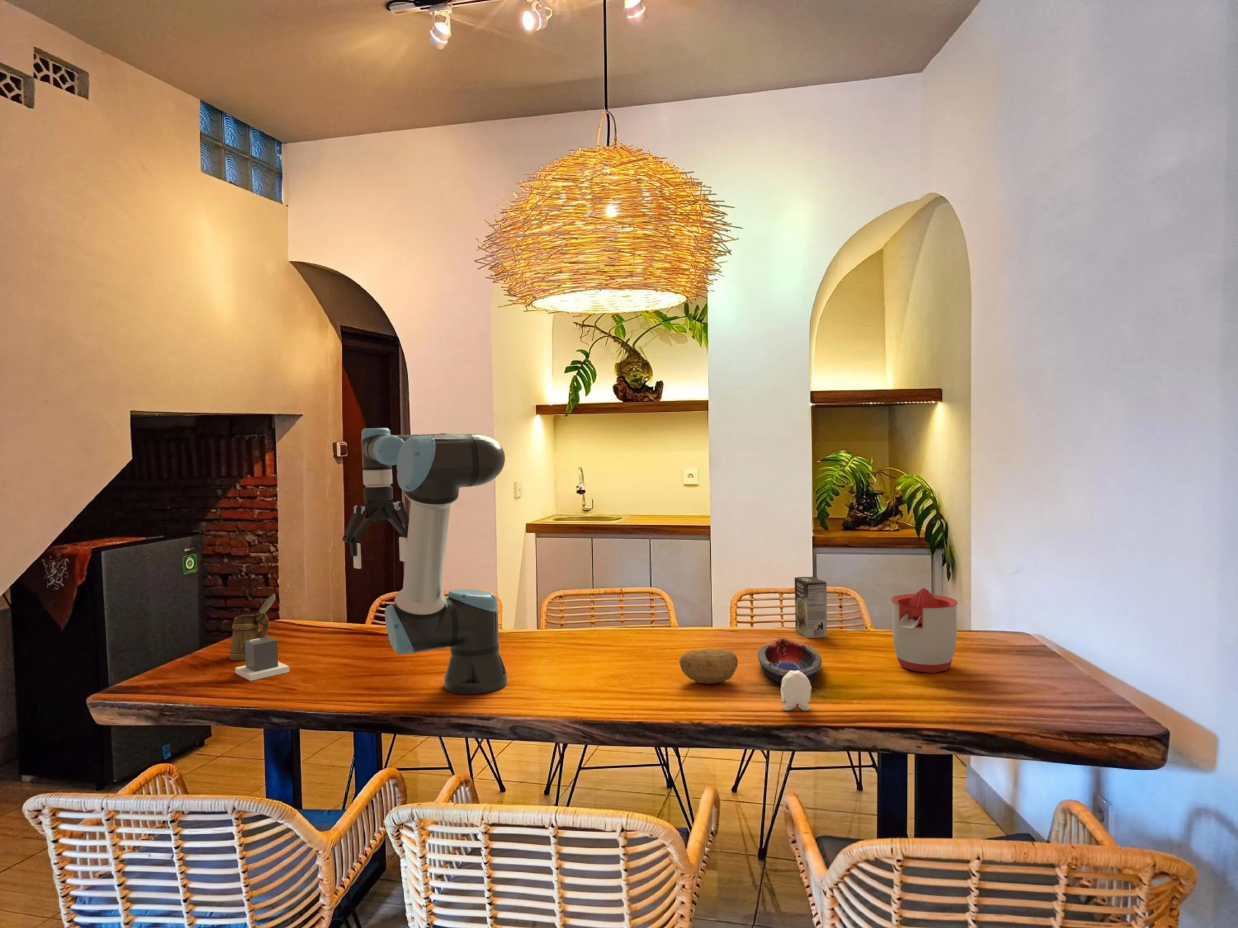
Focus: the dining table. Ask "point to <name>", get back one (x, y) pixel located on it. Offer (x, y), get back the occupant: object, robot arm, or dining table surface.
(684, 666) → the potato
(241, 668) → the white peg base
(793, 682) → the penguin figurine
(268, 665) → the grey rectangular block
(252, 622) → the wooden mug
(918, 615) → the citrus juicer
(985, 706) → the dining table surface
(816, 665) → the dish
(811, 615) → the coffee box
